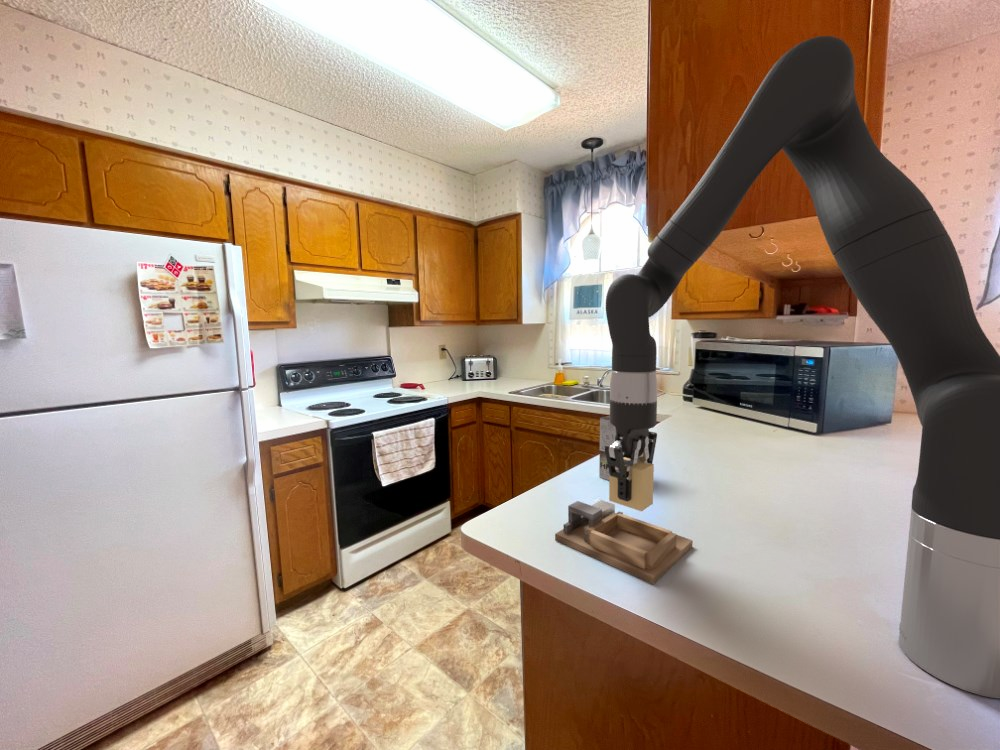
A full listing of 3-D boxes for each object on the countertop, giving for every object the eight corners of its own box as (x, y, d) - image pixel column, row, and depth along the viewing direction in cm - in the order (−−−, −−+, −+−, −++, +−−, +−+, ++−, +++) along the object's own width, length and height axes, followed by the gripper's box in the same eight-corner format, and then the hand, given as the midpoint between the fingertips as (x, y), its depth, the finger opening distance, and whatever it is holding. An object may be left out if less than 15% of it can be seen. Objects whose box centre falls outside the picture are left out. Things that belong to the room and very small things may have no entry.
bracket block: (652, 503, 69) (653, 464, 68) (641, 511, 67) (642, 470, 66) (621, 494, 74) (621, 456, 73) (609, 500, 71) (609, 461, 70)
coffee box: (618, 484, 101) (619, 421, 100) (598, 477, 106) (598, 417, 105) (640, 476, 107) (641, 416, 105) (620, 469, 112) (621, 412, 110)
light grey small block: (614, 518, 80) (614, 504, 80) (600, 527, 77) (600, 512, 77) (601, 514, 82) (601, 500, 82) (587, 522, 79) (587, 507, 79)
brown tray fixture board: (692, 546, 72) (693, 515, 71) (653, 584, 62) (654, 547, 61) (599, 513, 86) (599, 486, 85) (555, 539, 76) (554, 509, 75)
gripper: (632, 406, 60) (630, 516, 62) (673, 394, 70) (670, 489, 72) (589, 400, 66) (589, 501, 68) (633, 390, 75) (631, 479, 77)
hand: (631, 495), depth 70 cm, fingers closed on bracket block, 4 cm apart
